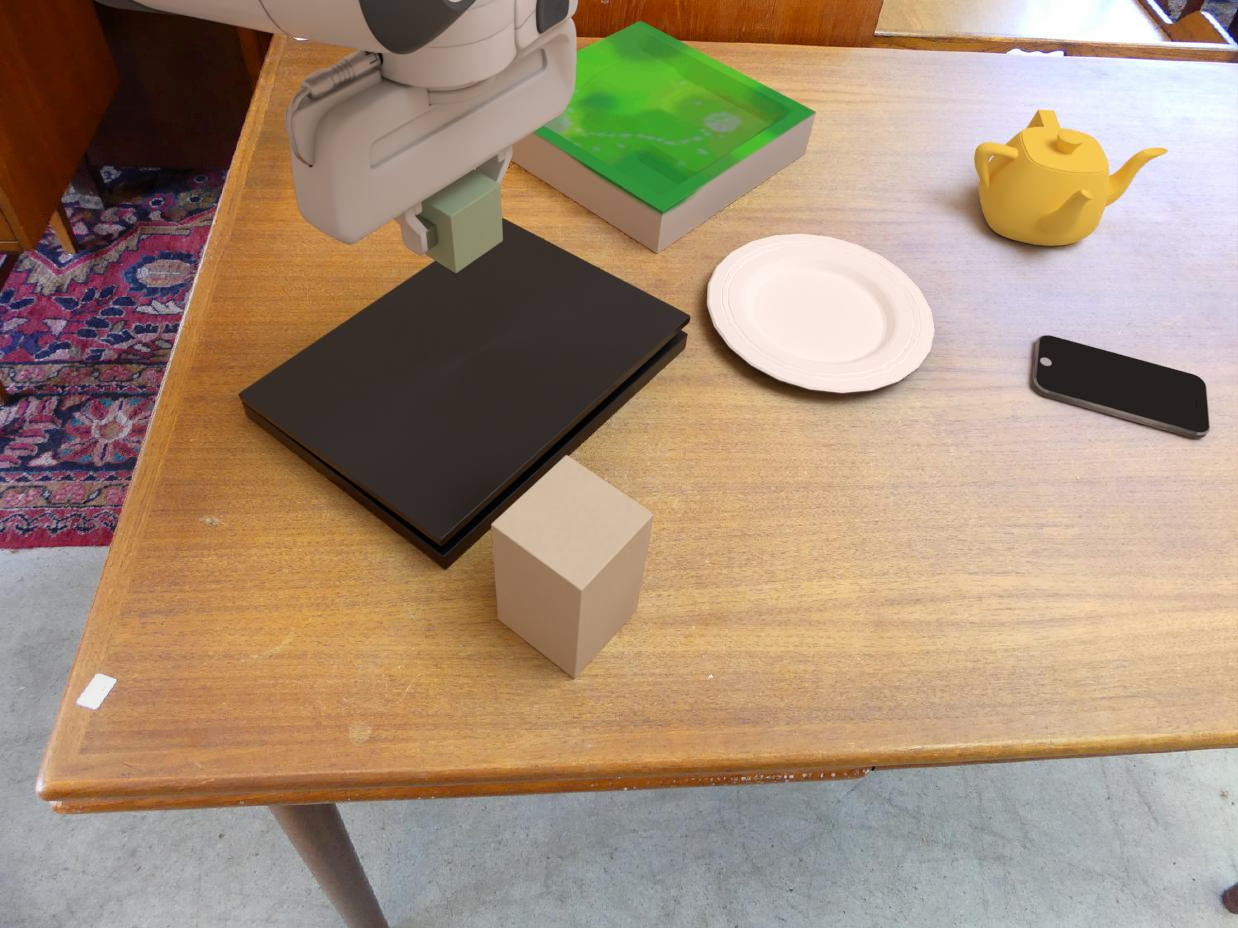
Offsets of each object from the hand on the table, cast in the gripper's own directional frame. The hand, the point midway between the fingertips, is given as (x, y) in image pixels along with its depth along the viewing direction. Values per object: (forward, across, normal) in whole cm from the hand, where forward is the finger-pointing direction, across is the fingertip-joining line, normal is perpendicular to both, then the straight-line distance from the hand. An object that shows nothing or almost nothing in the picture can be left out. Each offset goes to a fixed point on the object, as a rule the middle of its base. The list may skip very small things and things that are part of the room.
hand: (454, 225), depth 60 cm
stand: (+19, -9, -18) cm, 28 cm away
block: (+1, 0, 0) cm, 1 cm away
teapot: (+19, +58, -26) cm, 66 cm away
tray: (+19, +40, +12) cm, 46 cm away
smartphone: (+19, +40, -41) cm, 60 cm away
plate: (+19, +29, -16) cm, 38 cm away
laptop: (+19, +3, +2) cm, 19 cm away
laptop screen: (+16, +3, +2) cm, 17 cm away
